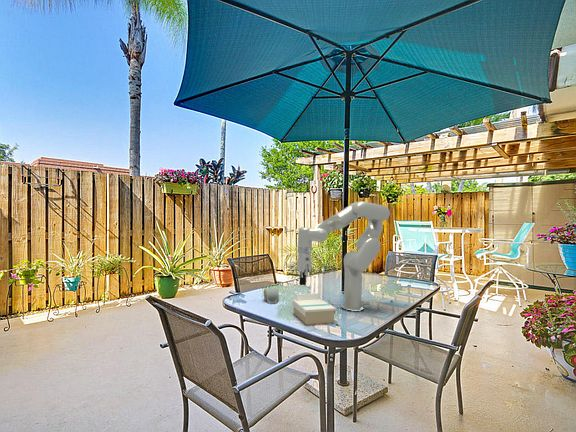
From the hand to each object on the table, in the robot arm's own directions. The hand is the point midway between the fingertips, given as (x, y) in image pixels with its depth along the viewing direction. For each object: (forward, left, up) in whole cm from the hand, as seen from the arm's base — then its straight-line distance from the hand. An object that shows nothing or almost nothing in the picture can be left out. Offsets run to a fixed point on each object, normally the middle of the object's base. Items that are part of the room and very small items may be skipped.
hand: (302, 284), depth 163 cm
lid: (-1, +14, -9) cm, 17 cm away
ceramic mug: (+11, -20, -14) cm, 27 cm away
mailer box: (-1, +14, -14) cm, 20 cm away
